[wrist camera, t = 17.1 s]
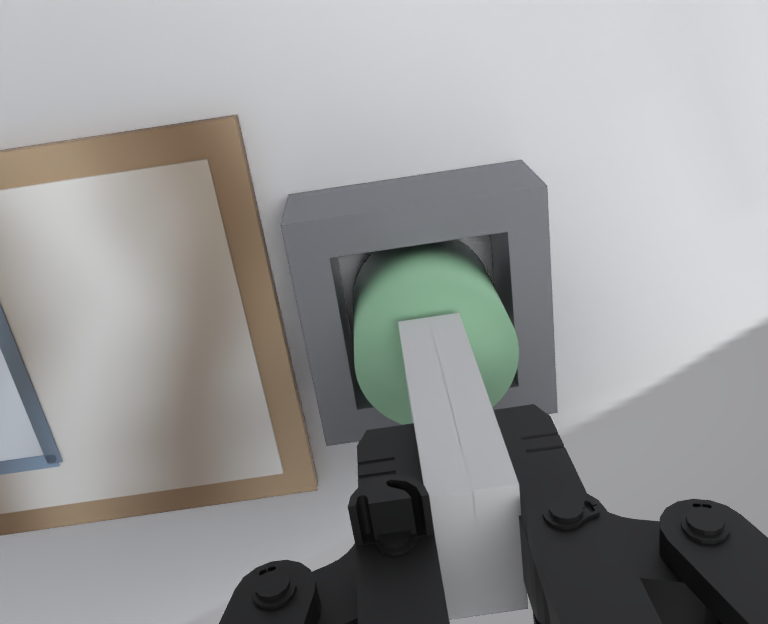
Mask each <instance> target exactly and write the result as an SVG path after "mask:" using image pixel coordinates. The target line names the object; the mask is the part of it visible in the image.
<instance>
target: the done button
mask: <svg viewBox="0 0 768 624" xmlns="http://www.w3.org/2000/svg"><path fill="white" fill-rule="evenodd" d="M454 313H459V314H460V317H461V319H462V322H463V325H464V328H465V331H466V334H467V337H468V340H469V342H470V345H471V348H472V351H473V354H474V357H475V360H476V362H477V365H478V368H479V371H480V374H481V377H482V380H483V382H484V385H485V388H486V391H487V394H488V397H489V400H490V403H491V405H492V408H493V407H494V406H495V405H496V404H497V403H498V402H499V401H500V400H501V398H502V397H503V396H504V395H505V393H506V392H507V390H508V389H509V387H510V385H511V383H512V381H513V379H514V377H515V374H516V370H517V367H518V360H519V345H518V339H517V335H516V332H515V329H514V327H513V325H512V323H511V321H510V318H509V316H508V314H507V312H506V310H505V308H504V306H503V304H502V302H501V300H500V298H499V296H498V294H497V292H496V290H495V288H494V286H493V284H492V282H491V279H490V277H489V275H488V273H487V271H486V269H485V267H484V265H483V263H482V262H481V260H480V259H479V257H478V256H477V255H476V254H475V253H474V252H473V251H472V250H471V249H470V248H469V247H468V246H466V245H465V244H463V243H462V242H460V241H459V240H457V239H455V240H449V241H442V242H435V243H428V244H422V245H415V246H408V247H401V248H394V249H388V250H381V251H374V252H373V253H372V254H371V255H370V256H369V258H368V259H367V260H366V261H365V263H364V264H363V266H362V267H361V269H360V271H359V273H358V276H357V278H356V281H355V286H354V291H353V323H354V365H355V373H356V377H357V381H358V383H359V386H360V388H361V390H362V392H363V394H364V395H365V397H366V398H367V400H368V401H369V402H370V403H371V404H372V406H374V407H375V408H376V409H377V410H378V411H379V412H380V413H382V414H383V415H384V416H386V417H387V418H389V419H391V420H393V421H395V422H397V423H400V424H402V425H405V424H411V423H413V422H412V416H411V409H410V402H409V395H408V388H407V381H406V374H405V367H404V360H403V354H402V347H401V340H400V333H399V326H398V322H399V321H406V320H413V319H420V318H426V317H433V316H440V315H447V314H454Z"/></svg>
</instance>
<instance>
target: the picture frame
mask: <svg viewBox="0 0 768 624" xmlns="http://www.w3.org/2000/svg"><path fill="white" fill-rule="evenodd" d="M317 484H318V481H317V476H316V472H315V467H314V462H313V458H312V453H311V449H310V444H309V440H308V435H307V430H306V426H305V421H304V417H303V412H302V408H301V403H300V398H299V394H298V389H297V385H296V380H295V376H294V371H293V366H292V362H291V357H290V353H289V348H288V344H287V339H286V334H285V330H284V325H283V321H282V316H281V312H280V307H279V302H278V298H277V293H276V289H275V284H274V280H273V275H272V271H271V266H270V261H269V257H268V252H267V248H266V243H265V239H264V234H263V229H262V225H261V220H260V216H259V211H258V207H257V202H256V197H255V193H254V188H253V184H252V179H251V175H250V170H249V165H248V161H247V156H246V152H245V147H244V143H243V138H242V133H241V129H240V124H239V120H238V115H232V116H225V117H218V118H212V119H205V120H199V121H192V122H185V123H179V124H172V125H165V126H159V127H152V128H145V129H139V130H132V131H125V132H119V133H112V134H106V135H99V136H92V137H86V138H79V139H72V140H66V141H59V142H52V143H46V144H39V145H32V146H26V147H19V148H12V149H6V150H0V535H7V534H14V533H21V532H28V531H35V530H42V529H49V528H56V527H63V526H70V525H77V524H84V523H91V522H98V521H105V520H112V519H119V518H126V517H133V516H140V515H147V514H155V513H162V512H169V511H176V510H183V509H190V508H197V507H204V506H211V505H218V504H225V503H232V502H239V501H246V500H253V499H260V498H267V497H274V496H281V495H288V494H295V493H302V492H309V491H316V490H317Z"/></svg>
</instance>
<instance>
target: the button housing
mask: <svg viewBox="0 0 768 624" xmlns="http://www.w3.org/2000/svg"><path fill="white" fill-rule="evenodd" d="M281 229H282V234H283V239H284V244H285V249H286V253H287V258H288V263H289V268H290V273H291V277H292V282H293V287H294V292H295V297H296V302H297V306H298V311H299V316H300V321H301V326H302V331H303V335H304V340H305V345H306V350H307V355H308V359H309V364H310V369H311V374H312V379H313V384H314V388H315V393H316V398H317V403H318V408H319V413H320V417H321V422H322V427H323V432H324V437H325V441H326V446H329V445H336V444H343V443H350V442H357V441H360V440H361V439H362V437H363V435H364V434H365V432H366V430H370V429H377V428H384V427H391V426H398V425H402V424H400V423H397V422H395V421H393V420H391V419H389V418H387V417H386V416H384V415H383V414H382V413H380V412H379V411H378V410H377V409H376V408H375V407H374V406H372V404H371V403H370V402H369V401H368V400H367V398H366V397H365V395H364V394H363V392H362V390H361V388H360V386H359V383H358V381H357V377H356V373H355V365H354V348H353V343H352V337H351V331H350V326H349V320H348V314H347V309H346V303H345V297H344V292H343V286H342V280H341V275H340V269H339V263H338V258H337V257H340V256H347V255H354V254H360V253H367V252H374V251H381V250H388V249H394V248H401V247H408V246H415V245H422V244H428V243H435V242H442V241H449V240H455V239H462V238H469V237H476V236H483V235H489V234H491V246H492V258H493V271H494V283H495V290H496V292H497V294H498V296H499V298H500V300H501V302H502V304H503V306H504V308H505V310H506V312H507V314H508V316H509V318H510V321H511V323H512V325H513V327H514V329H515V332H516V335H517V339H518V345H519V360H518V367H517V370H516V374H515V377H514V379H513V381H512V383H511V385H510V387H509V389H508V390H507V392H506V393H505V395H504V396H503V397H502V398H501V400H500V401H499V402H498V403H497V404H496V405H495V406H494V407H493V410H496V409H503V408H510V407H516V406H523V405H530V404H534V405H536V406H537V407H539V408H540V409H541V410H543V411H544V412H545V413H547V414H552V413H557V392H556V370H555V348H554V325H553V303H552V281H551V259H550V237H549V214H548V192H547V185H546V184H545V183H544V182H543V181H542V180H541V179H540V178H539V177H538V176H537V175H536V174H535V173H534V172H533V171H532V170H531V169H530V168H529V167H528V166H527V165H526V164H525V163H524V162H523V161H522V160H518V161H511V162H504V163H498V164H491V165H484V166H477V167H471V168H464V169H457V170H450V171H444V172H437V173H430V174H424V175H417V176H410V177H403V178H397V179H390V180H383V181H377V182H370V183H363V184H356V185H350V186H343V187H336V188H329V189H323V190H316V191H309V192H303V193H296V194H289V196H288V200H287V204H286V207H285V211H284V214H283V218H282V222H281Z"/></svg>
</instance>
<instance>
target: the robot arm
mask: <svg viewBox="0 0 768 624" xmlns="http://www.w3.org/2000/svg"><path fill="white" fill-rule="evenodd" d="M398 326H399V333H400V340H401V347H402V354H403V360H404V367H405V374H406V381H407V388H408V395H409V402H410V409H411V416H412V422H413V423H411V424H405V425H398V426H391V427H384V428H377V429H370V430H366V432H365V434H364V435H363V437H362V439H361V440H360V442H359V444H358V445H357V456H358V489H357V490H356V491H355V492H354V493H353V494H352V495H351V497H350V501H349V505H348V510H349V515H350V520H351V525H352V530H353V535H354V540H355V544H354V546H353V547H352V548H351V549H350V550H349V551H348V553H346V554H345V555H344V556H343V557H341V558H340V559H339V560H337V561H335V562H333V563H331V564H329V565H327V566H325V567H322V568H320V569H317V570H315V571H313V572H311V570H310V569H309V568H307V567H306V566H304V565H303V564H302V563H300V562H295V561H290V560H281V561H273V562H269V563H267V564H264V565H262V566H259V567H257V568H255V569H254V570H253V571H251V572H250V573H249V574H247V575H246V576H245V577H244V578H243V579H242V580H241V582H240V583H239V585H238V586H237V587H236V589H235V591H234V593H233V595H232V597H231V599H230V601H229V603H228V605H227V608H226V610H225V612H224V614H223V616H222V618H221V620H220V623H219V624H449V620H451V619H458V618H465V617H473V616H480V615H486V614H494V613H500V612H507V611H514V610H521V609H528V599H527V593H528V596H529V600H530V603H531V606H532V610H533V618H534V624H768V538H767V537H766V536H765V535H764V534H763V533H762V532H760V531H759V530H758V529H757V528H756V527H755V526H754V525H752V524H751V523H750V522H749V521H748V520H746V519H745V518H744V517H743V516H742V515H741V514H739V513H738V512H736V511H734V510H733V509H731V508H730V507H728V506H726V505H723V504H720V503H716V502H713V501H711V500H700V499H690V500H684V501H678V502H676V503H674V504H672V505H671V506H669V507H667V508H666V509H665V510H664V512H663V514H662V515H661V517H660V521H649V520H638V519H630V518H625V517H620V516H617V515H615V514H611V513H609V512H607V510H606V509H605V508H604V506H603V505H602V504H601V503H600V502H599V500H597V499H596V498H594V497H592V496H590V495H589V494H587V493H586V491H585V488H584V486H583V484H582V482H581V480H580V478H579V476H578V474H577V472H576V469H575V467H574V465H573V463H572V461H571V459H570V457H569V455H568V453H567V451H566V449H565V448H564V444H563V442H562V440H561V438H560V436H559V435H558V432H557V429H556V427H555V425H554V423H553V421H552V419H551V417H550V416H549V415H548V414H547V413H545V412H544V411H543V410H541V409H540V408H539V407H537V406H536V405H534V404H530V405H523V406H516V407H510V408H503V409H496V410H493V408H492V405H491V403H490V400H489V397H488V394H487V391H486V388H485V385H484V382H483V380H482V377H481V374H480V371H479V368H478V365H477V362H476V360H475V357H474V354H473V351H472V348H471V345H470V342H469V340H468V337H467V334H466V331H465V328H464V325H463V322H462V319H461V317H460V314H459V313H454V314H447V315H440V316H433V317H426V318H420V319H413V320H406V321H399V322H398Z"/></svg>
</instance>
